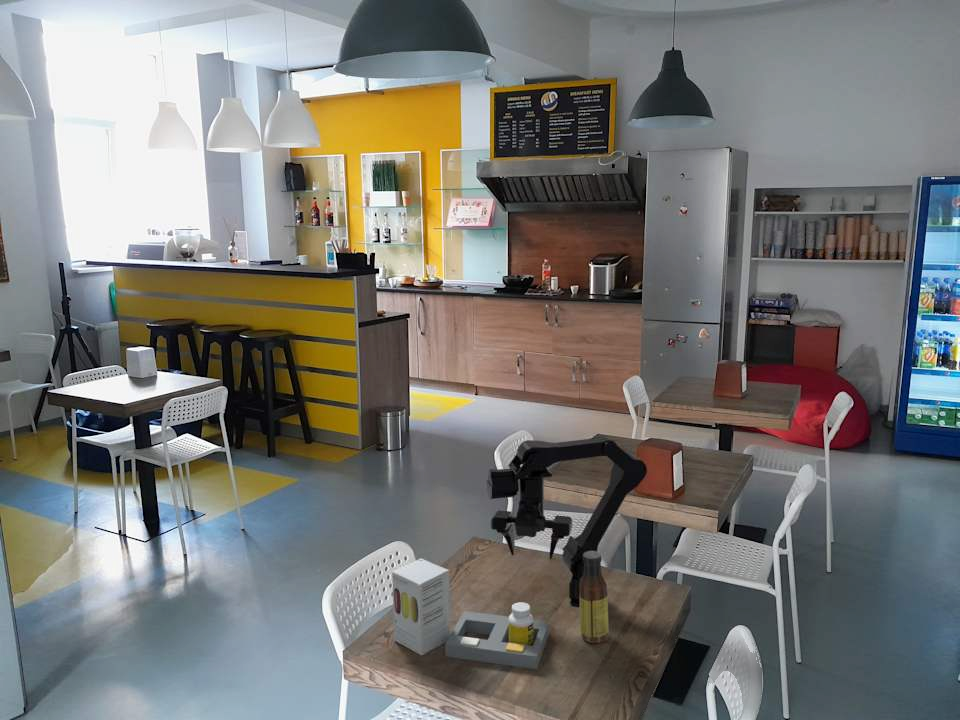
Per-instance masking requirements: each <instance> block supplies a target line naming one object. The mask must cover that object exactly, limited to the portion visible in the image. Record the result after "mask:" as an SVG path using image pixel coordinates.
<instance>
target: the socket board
mask: <svg viewBox="0 0 960 720" xmlns="http://www.w3.org/2000/svg"><path fill="white" fill-rule="evenodd" d="M549 627H550V622H549V621H547V620H537V619H533V646H528V645H522V644H514V643H509V642H508V641H509V616H507V615H498V614H490V613H484V612H474V611H467V610H464V611H463V612H462V614H461V615H460V618H459V619H458V621H457V623H456V624H455V626H454V628H453V630H452V631H451V635H450V636H449V638H448V640H447V641H446V642H444V643H445V645H444V646H445V657H447V658H454V659H461V660H462V659H463V660H466V661H468V660H469V661H475V662H481V663H489V664H497V665H504V666H509V667H515V668H516V667H517V668H524V669H531V670H538V667H539V665H540V661H541V659H542V655H543V652H544V649H545V647H546V644H547V640H548V638H549V635H550V634H549V633H550V629H549ZM466 633H473V634H481V635H489V637H488V639H481V638H476V637H467V636H465V634H466Z"/></svg>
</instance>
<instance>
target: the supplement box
mask: <svg viewBox="0 0 960 720" xmlns="http://www.w3.org/2000/svg"><path fill="white" fill-rule="evenodd" d="M391 581H392V609H393V610H392V611H393V634H394V635H393V638H394V642H397V643H398V644H400V645H402V646H404V647H405V648H407V649H409V650H411V651H412V652H414V653H416V654H417V655H420V656H424V655H426V654H427V653H429V652H431V651H432V650H434V649H435V648H438V647H439V646H441V645H443V644H444V643H446V642H447V640H448V638H449V636H450V635H451V633H452V631H451V599H450V598H451V597H450V595H451V593H450V592H451V590H450V588H451V587H450V584H451V583H450V570H449V569H448V568H445V567H442V566H441V565H440V566H439V565H437V564H435V563H433V562H430V561H429V560H426V559H424V558H421V557H420V558H419V559H416V560H415V561H412V562H410V563H407V564H406V565H403V566H401V567H398V568H397V569H395V570H393V571H392V572H391Z"/></svg>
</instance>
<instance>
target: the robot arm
mask: <svg viewBox="0 0 960 720" xmlns="http://www.w3.org/2000/svg"><path fill="white" fill-rule="evenodd" d="M598 457H607V458H608V459H609V460H611V462H613V466H612V467H611V471H610V480H609V485H608V486H607V488H606V490H605V492H604V493H603V495H602V497H601V498H600V500H599V502H598V504H597V505H596V508H595V509H594V511H593V513H592V514H591V516H590V519H589V520H588V522H587V523H586V525H585V526H584V527H583V531H582V532H581V533H580V535H577V536H576V537H573V536H572V535H570V534H571V532H572V529H573V518H571V517H570V516H567V515H555V517H554V519H547V518H546V517H545V511H544V509H545V508H544V507H545V505H544V503H545V502H544V501H545V500H544V499H545V495H544V492H545V491H544V486H545V485H544V483H545V482H544V481H545V480H544V479H545V478H551V477H553V473H552V472H551V471H550V469H548V468H549V467H551V466H553V465H555V464H557V463H560V462H567V461H574V460H581V459H582V460H584V459H592V458H598ZM647 473H648V468H647V465H646V463H645V462H644V461H643V460H641V459H640V458H639V457H637V456H635V454H634V453H632V452H629V451H624V450H623V449H622V448H621V447H620V446H618V444H617V443H616V442H615V440H613V439H611V437H609V436H606V435H605V436H600V437H594V438H593V437H592V438H585V439H575V440H569V441H562V442H561V441H560V442H548V441H543V440H533V439H530V440H529V439H527V440H524V441H522V442H521V443H520V445H518V448H517V449H516V454H515V455H514V456H513V458H512V459H511V460H510V462H509V464H508V468H502V469H500V468H499V469H496V468H492V469H491V468H490V469H489V470H488V475H487V479H486V490H487V495H488V496H487V497H488V498H489V500H496V499H505V498H506V499H508V498H509V499H510V498H514V497H515V496H518V495H519V502H518V509H517V512H516V516H513V512H512V511H509V510H508V511H507V510H497V511H496V512H495V513H494V514H493V515H492V518H491V521H490V529H491V530H493V531H495V530H496V533H498V534H501V535H502V536H503V538H504V539H505V541H506V544H507V546H508V549H509V552H510V554H511V556H514V555H515V552H516V551H515V547H516V545H515V544H516V543H515V535H516V537H529V538H534V537H536V536H537V534H538V533H540V532H545V529H551V532H552V533H551V535H550V539H551V540H550V547H549V560H552V559H553V555H554V553H555V549H556V547H557V544H558V542H559V540H562V539H564V538H565V537H569V538H568V539H567V542H566V544H565V546H563V547H562V555H561V557H562V561H563V563H564V564H565V565H566V567H567V569H568V570H569V571H570V573H571V578H570V581H569V590H568V591H569V593H568V595H569V596H568V597H569V599H570V602H569V604H570V606H571V605H573V606H579V607H580V600H579V593H580V588H579V581H580V579H581V577H582V575H583V574H584V561H583V554H584V553H585V552H587V551H596V552H598V550H599V549H598V548H599V544H600V543H601V541H602V539H603V538H604V536H605V534H606V532H607V530H608V529H609V527H610V526H611V523H612V522H613V520H614V518H615V516H616V515H617V513H618V511H619V510H620V507H621V506H622V504H623V502H624V501H625V498H626V497H627V496H628V494H629V493H631V492H633V491H635V489H636V488H638V487H639V486H640V484H641V483H642V482H643V480H644V479H646V477H647ZM518 493H519V494H518Z"/></svg>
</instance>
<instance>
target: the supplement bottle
mask: <svg viewBox="0 0 960 720" xmlns="http://www.w3.org/2000/svg"><path fill="white" fill-rule="evenodd" d="M508 617H509V638H508V643H514V644H522V645H528V646H533V645H534V641H533V620H534V616H533V615H532V614H531V606H530V604H529V603H527V602H522V601H520V602H515V603H513V604H512V605H511V613H510V614H509V616H508Z"/></svg>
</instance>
